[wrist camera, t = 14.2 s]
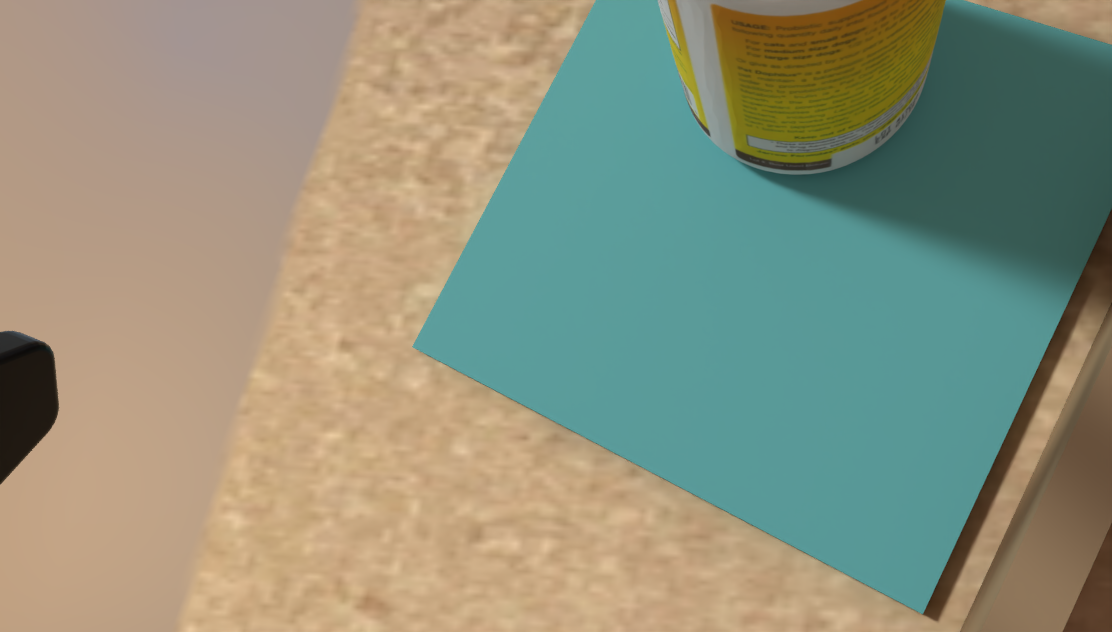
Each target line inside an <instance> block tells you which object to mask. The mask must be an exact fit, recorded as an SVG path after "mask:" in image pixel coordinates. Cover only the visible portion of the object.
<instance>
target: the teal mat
mask: <svg viewBox="0 0 1112 632" xmlns="http://www.w3.org/2000/svg"><path fill="white" fill-rule="evenodd" d="M1111 209H1112V45H1110V44H1107V43H1104V42H1100V41H1097V40H1094V39H1090V38H1087V37H1084V36H1081V35H1077V34H1074V33H1071V32H1067V31H1064V30H1061V29H1057V28H1054V27H1051V26H1047V25H1044V24H1041V23H1037V22H1034V21H1031V20H1027V19H1024V18H1021V17H1017V16H1014V15H1011V14H1007V13H1004V12H1001V11H998V10H994V9H991V8H988V7H984V6H981V5H978V4H974V3H971V2H968V1H964V0H946V2H945V6H944V10H943V14H942V18H941V22H940V26H939V30H938V34H937V38H936V42H935V45H934V49H933V54H932V58H931V63H930V66H929V70H928V73H927V77H926V80H925V84H924V87H923V89H922V92H921V94H920V97H919V99H918V101H917V103H916V105H915V107H914V109H913V110H912V112H911V114H910V115H909V116H908V118H907V119H906V121H905V122H904V123H903V125H902V126H901V127H900V128H899V129H898V130H897V131H896V132H895V133H894V135H893V136H892V137H891V138H889V139H888V140H887V141H886V142H885V143H884V144H882V145H881V146H880V147H879V148H877V149H876V150H874V151H873V152H871V153H870V154H868V155H866V156H865V157H863V158H861V159H859V160H857V161H855V162H853V163H851V164H848V165H846V166H843V167H841V168H837V169H834V170H831V171H826V172H821V173H815V174H800V175H791V174H779V173H774V172H769V171H764V170H761V169H757V168H754V167H752V166H749V165H747V164H745V163H742V162H740V161H738V160H737V159H735V158H733V157H731V156H730V155H728V154H727V153H725V152H724V151H723V150H722V149H720V148H719V147H718V146H717V145H716V144H714V143H713V142H712V141H711V140H710V139H709V137H708V136H707V135H706V134H705V133H704V131H703V130H702V129H701V127H700V126H699V124H698V123H697V121H696V120H695V118H694V116H693V114H692V112H691V110H690V107H689V105H688V102H687V100H686V97H685V94H684V90H683V87H682V83H681V80H680V77H679V74H678V70H677V67H676V63H675V59H674V56H673V53H672V49H671V46H670V42H669V38H668V35H667V32H666V28H665V25H664V21H663V17H662V14H661V11H660V7H659V4H658V0H596V1H595V3H594V5H593V7H592V9H591V11H590V13H589V15H588V17H587V18H586V20H585V22H584V24H583V26H582V28H581V30H580V32H579V33H578V35H577V37H576V39H575V41H574V43H573V45H572V47H571V49H570V50H569V52H568V54H567V56H566V58H565V60H564V62H563V64H562V66H561V67H560V69H559V71H558V73H557V75H556V77H555V79H554V81H553V83H552V84H551V86H550V88H549V90H548V92H547V94H546V96H545V98H544V99H543V101H542V103H541V105H540V107H539V109H538V111H537V113H536V115H535V116H534V118H533V120H532V122H531V124H530V126H529V128H528V130H527V132H526V133H525V135H524V137H523V139H522V141H521V143H520V145H519V147H518V148H517V150H516V152H515V154H514V156H513V158H512V160H511V162H510V164H509V165H508V167H507V169H506V171H505V173H504V175H503V177H502V179H501V181H500V182H499V184H498V186H497V188H496V190H495V192H494V194H493V196H492V198H491V199H490V201H489V203H488V205H487V207H486V209H485V211H484V213H483V214H482V216H481V218H480V220H479V222H478V224H477V226H476V228H475V230H474V231H473V233H472V235H471V237H470V239H469V241H468V243H467V245H466V247H465V248H464V250H463V252H462V254H461V256H460V258H459V260H458V262H457V263H456V265H455V267H454V269H453V271H452V273H451V275H450V277H449V279H448V280H447V282H446V284H445V286H444V288H443V290H442V292H441V294H440V296H439V297H438V299H437V301H436V303H435V305H434V307H433V309H432V311H431V313H430V314H429V316H428V318H427V320H426V322H425V324H424V326H423V328H422V329H421V331H420V333H419V335H418V337H417V339H416V341H415V343H414V345H413V346H412V347H413V348H415V349H417V350H419V351H421V352H423V353H425V354H427V355H429V356H430V357H432V358H434V359H436V360H438V361H440V362H442V363H444V364H446V365H448V366H450V367H451V368H453V369H455V370H457V371H459V372H461V373H463V374H465V375H467V376H469V377H471V378H472V379H474V380H476V381H478V382H480V383H482V384H484V385H486V386H488V387H490V388H492V389H493V390H495V391H497V392H499V393H501V394H503V395H505V396H507V397H509V398H511V399H513V400H514V401H516V402H518V403H520V404H522V405H524V406H526V407H528V408H530V409H532V410H534V411H535V412H537V413H539V414H541V415H543V416H545V417H547V418H549V419H551V420H553V421H555V422H556V423H558V424H560V425H562V426H564V427H566V428H568V429H570V430H572V431H574V432H576V433H577V434H579V435H581V436H583V437H585V438H587V439H589V440H591V441H593V442H595V443H597V444H598V445H600V446H602V447H604V448H606V449H608V450H610V451H612V452H614V453H616V454H618V455H619V456H621V457H623V458H625V459H627V460H629V461H631V462H633V463H635V464H637V465H639V466H641V467H642V468H644V469H646V470H648V471H650V472H652V473H654V474H656V475H658V476H660V477H662V478H663V479H665V480H667V481H669V482H671V483H673V484H675V485H677V486H679V487H681V488H683V489H684V490H686V491H688V492H690V493H692V494H694V495H696V496H698V497H700V498H702V499H704V500H705V501H707V502H709V503H711V504H713V505H715V506H717V507H719V508H721V509H723V510H725V511H726V512H728V513H730V514H732V515H734V516H736V517H738V518H740V519H742V520H744V521H746V522H747V523H749V524H751V525H753V526H755V527H757V528H759V529H761V530H763V531H765V532H767V533H768V534H770V535H772V536H774V537H776V538H778V539H780V540H782V541H784V542H786V543H788V544H789V545H791V546H793V547H795V548H797V549H799V550H801V551H803V552H805V553H807V554H809V555H810V556H812V557H814V558H816V559H818V560H820V561H822V562H824V563H826V564H828V565H830V566H831V567H833V568H835V569H837V570H839V571H841V572H843V573H845V574H847V575H849V576H851V577H853V578H854V579H856V580H858V581H860V582H862V583H864V584H866V585H868V586H870V587H872V588H874V589H875V590H877V591H879V592H881V593H883V594H885V595H887V596H889V597H891V598H893V599H895V600H896V601H898V602H900V603H902V604H904V605H906V606H908V607H910V608H912V609H914V610H916V611H917V612H919V613H921V614H923V613H924V611H925V608H926V606H927V604H928V602H929V600H930V598H931V596H932V593H933V591H934V589H935V587H936V585H937V583H938V581H939V578H940V576H941V574H942V572H943V570H944V568H945V565H946V563H947V561H948V559H949V557H950V555H951V553H952V550H953V548H954V546H955V544H956V542H957V540H958V538H959V535H960V533H961V531H962V529H963V527H964V525H965V523H966V520H967V518H968V516H969V514H970V512H971V510H972V508H973V505H974V503H975V501H976V499H977V497H978V495H979V492H980V490H981V488H982V486H983V484H984V482H985V480H986V477H987V475H988V473H989V471H990V469H991V467H992V465H993V462H994V460H995V458H996V456H997V454H998V452H999V450H1000V447H1001V445H1002V443H1003V441H1004V439H1005V437H1006V435H1007V432H1008V430H1009V428H1010V426H1011V424H1012V422H1013V420H1014V417H1015V415H1016V413H1017V411H1018V409H1019V407H1020V404H1021V402H1022V400H1023V398H1024V396H1025V394H1026V392H1027V389H1028V387H1029V385H1030V383H1031V381H1032V379H1033V377H1034V374H1035V372H1036V370H1037V368H1038V366H1039V364H1040V362H1041V359H1042V357H1043V355H1044V353H1045V351H1046V349H1047V347H1048V344H1049V342H1050V340H1051V338H1052V336H1053V334H1054V331H1055V329H1056V327H1057V325H1058V323H1059V321H1060V319H1061V316H1062V314H1063V312H1064V310H1065V308H1066V306H1067V304H1068V301H1069V299H1070V297H1071V295H1072V293H1073V291H1074V289H1075V286H1076V284H1077V282H1078V280H1079V278H1080V276H1081V274H1082V271H1083V269H1084V267H1085V265H1086V263H1087V261H1088V258H1089V256H1090V254H1091V252H1092V250H1093V248H1094V246H1095V243H1096V241H1097V239H1098V237H1099V235H1100V233H1101V231H1102V228H1103V226H1104V224H1105V222H1106V220H1107V218H1108V216H1109V213H1110V211H1111Z"/></svg>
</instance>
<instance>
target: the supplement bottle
mask: <svg viewBox="0 0 1112 632" xmlns="http://www.w3.org/2000/svg"><path fill="white" fill-rule="evenodd" d="M945 2H946V0H658V4H659V7H660V11H661V14H662V17H663V21H664V25H665V28H666V32H667V35H668V38H669V42H670V46H671V49H672V53H673V56H674V59H675V63H676V67H677V70H678V74H679V77H680V80H681V83H682V87H683V90H684V94H685V97H686V100H687V102H688V105H689V107H690V110H691V112H692V114H693V116H694V118H695V120H696V121H697V123H698V124H699V126H700V127H701V129H702V130H703V131H704V133H705V134H706V135H707V136H708V137H709V139H710V140H711V141H712V142H713V143H714V144H716V145H717V146H718V147H719V148H720V149H722V150H723V151H724V152H725V153H727V154H728V155H730V156H731V157H733V158H735V159H737V160H738V161H740V162H742V163H745V164H747V165H749V166H752V167H754V168H757V169H761V170H764V171H769V172H774V173H779V174H791V175H800V174H815V173H821V172H826V171H831V170H834V169H837V168H841V167H843V166H846V165H848V164H851V163H853V162H855V161H857V160H859V159H861V158H863V157H865V156H866V155H868V154H870V153H871V152H873V151H874V150H876V149H877V148H879V147H880V146H881V145H882V144H884V143H885V142H886V141H887V140H888V139H889V138H891V137H892V136H893V135H894V133H895V132H896V131H897V130H898V129H899V128H900V127H901V126H902V125H903V123H904V122H905V121H906V119H907V118H908V116H909V115H910V114H911V112H912V110H913V109H914V107H915V105H916V103H917V101H918V99H919V97H920V94H921V92H922V89H923V87H924V84H925V80H926V77H927V73H928V70H929V66H930V63H931V58H932V54H933V49H934V45H935V42H936V38H937V34H938V30H939V26H940V22H941V18H942V14H943V10H944V6H945Z"/></svg>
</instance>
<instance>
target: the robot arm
mask: <svg viewBox="0 0 1112 632" xmlns="http://www.w3.org/2000/svg"><path fill="white" fill-rule="evenodd" d="M54 359H55V358H54V354H53V351H52V350H51V348H50V346H49V345H47V344H46V343H44V342H42V341H40V340H37V339H35V338H32V337H30V336H27V335H25V334H22V333H20V332H15V331H4V332H0V484H1V483H2V482H3V481H4V480H5V479H6V478H7V477H8V476H9V475H10V473H11V472H12V471H13V470H14V469H15V468H16V467H17V466H18V465H19V464H20V462H21V461H22V460H23V459H24V458H25V457H26V456H27V455H28V454H29V453H30V451H32V449H33V448H34V447H35V446H36V445H37V444H38V443H39V441H41V439H42V438H43V437H44V436H45V435H46V434H47V433H48V432H49V430H50V429H51V428H52V425H53V424H54V423H55V420H56V418H57V415H58V410H59V401H58V392H57V391H58V390H57V380H56V369H55V360H54Z"/></svg>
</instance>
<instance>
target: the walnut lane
mask: <svg viewBox="0 0 1112 632" xmlns="http://www.w3.org/2000/svg"><path fill="white" fill-rule="evenodd" d="M1111 523H1112V304H1111V306H1110V308H1109V310H1108V312H1107V314H1106V317H1105V319H1104V321H1103V323H1102V325H1101V327H1100V330H1099V332H1098V334H1097V336H1096V338H1095V340H1094V343H1093V345H1092V347H1091V349H1090V351H1089V353H1088V356H1087V358H1086V360H1085V362H1084V364H1083V367H1082V369H1081V371H1080V373H1079V375H1078V377H1077V380H1076V382H1075V384H1074V386H1073V388H1072V390H1071V393H1070V395H1069V397H1068V399H1067V401H1066V403H1065V406H1064V408H1063V410H1062V412H1061V414H1060V416H1059V419H1058V421H1057V423H1056V425H1055V427H1054V429H1053V432H1052V434H1051V436H1050V438H1049V440H1048V442H1047V445H1046V447H1045V449H1044V451H1043V453H1042V455H1041V458H1040V460H1039V462H1038V464H1037V466H1036V468H1035V471H1034V473H1033V475H1032V477H1031V479H1030V481H1029V484H1028V486H1027V488H1026V490H1025V492H1024V494H1023V497H1022V499H1021V501H1020V503H1019V505H1018V507H1017V510H1016V512H1015V514H1014V516H1013V518H1012V520H1011V523H1010V525H1009V527H1008V529H1007V531H1006V533H1005V536H1004V538H1003V540H1002V542H1001V544H1000V546H999V549H998V551H997V553H996V555H995V557H994V559H993V562H992V564H991V566H990V568H989V570H988V572H987V575H986V577H985V579H984V581H983V583H982V585H981V588H980V590H979V592H978V594H977V596H976V598H975V601H974V603H973V605H972V607H971V609H970V611H969V614H968V616H967V618H966V620H965V622H964V624H963V627H962V629H961V631H960V632H1063V630H1064V628H1065V625H1066V623H1067V621H1068V619H1069V616H1070V614H1071V612H1072V610H1073V608H1074V605H1075V603H1076V601H1077V599H1078V597H1079V594H1080V592H1081V590H1082V588H1083V585H1084V583H1085V581H1086V579H1087V577H1088V574H1089V572H1090V570H1091V568H1092V566H1093V563H1094V561H1095V559H1096V557H1097V554H1098V552H1099V550H1100V548H1101V546H1102V543H1103V541H1104V539H1105V537H1106V534H1107V532H1108V530H1109V528H1110V526H1111Z"/></svg>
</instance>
